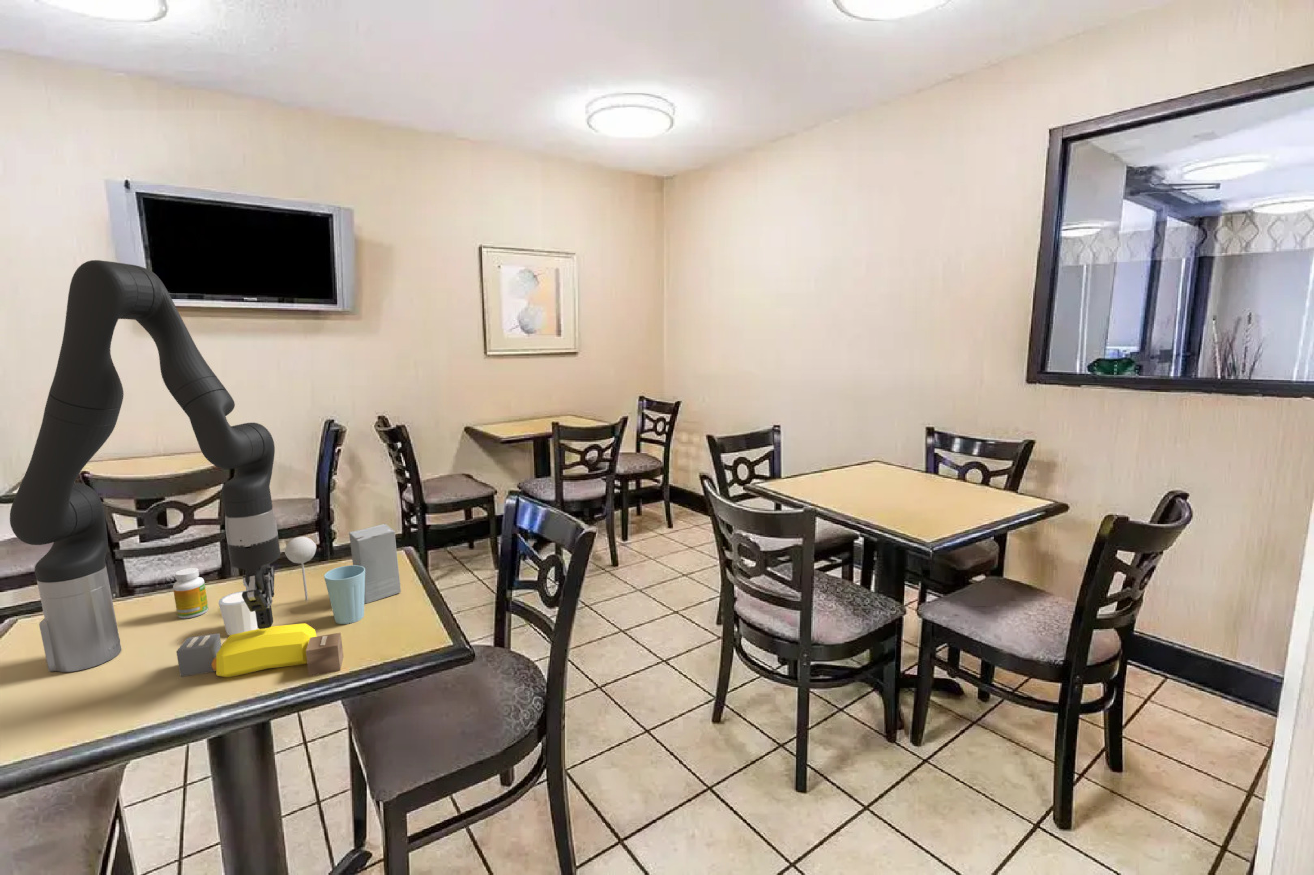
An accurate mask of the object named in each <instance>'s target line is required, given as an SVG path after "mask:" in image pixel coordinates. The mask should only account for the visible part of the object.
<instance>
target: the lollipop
mask: <svg viewBox="0 0 1314 875" xmlns="http://www.w3.org/2000/svg"><path fill="white" fill-rule="evenodd" d="M316 551H317V544H316V543H315V542H314V541H313V539H311V538H310V537H308V536H297V537H294V538H293V539H291V540H290V541H289V542H288V543H287V544H286V547H285V548H284V554H285V556H286V557H287V559H288V560H289V561H291V563H293V564H301V572H302V581H303V589H304V598H305V601H306V602H307V601H309V597H308V589H307V580H306V572H305V563H307V562H309V561H310V560H312V559H313V558H314V556H315V554H316Z"/></svg>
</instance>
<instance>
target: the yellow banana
mask: <svg viewBox="0 0 1314 875" xmlns="http://www.w3.org/2000/svg"><path fill="white" fill-rule="evenodd" d="M311 637H317V633H316V629H315V628H313V627H312V626H310V625H309V624H307V622H306V623H295V624H284V625H272V626H271V627H270V628H264V629H259V628H257V629H256V630H251V631H246V632H242V633H237V634H233V635H228V637H227V638H226V639H225V641H224V642H223V643H221V648H220V649H219V651H218V652H217V654H216V658H214V659H213V661H212V664H211V666H212V668H213V670H214V672H215V671H216V672H215V673H216V676H218V677H223V678H233V677H236V676H240V675H245V674H251V673H255V672H259V671H263V670H268V669H276V668H285V667H292V666H293V667H294V666H299V665H307V656H306V649H307V646H308V643H309V640H310V638H311Z"/></svg>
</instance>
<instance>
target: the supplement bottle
mask: <svg viewBox="0 0 1314 875" xmlns="http://www.w3.org/2000/svg"><path fill="white" fill-rule="evenodd" d="M174 576H175V580H176V581H175V583H174V584H173V586H172V589H173V590H172V591H173V596H174V602H175V608H176V609H175V610H176V614H177V617H178V618H179V619H192V618H195V617H199V616H201V615H204V614H206V613H207V612H208V611H209V604H208V598H207V597H208V596H207V590H206V585H205V580H204V578H203V577H200V570H199V568H197V567H189V568H188V567H187V568H183V569H180V570H178V571H176V572H175V573H174Z"/></svg>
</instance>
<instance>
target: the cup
mask: <svg viewBox="0 0 1314 875" xmlns="http://www.w3.org/2000/svg"><path fill="white" fill-rule="evenodd" d="M323 577H324V582H325V586H326V590H327V593H328V598H329V601H330V606H331V610H332V614H333V618H334V621H335V623H336V624H339V625H348V624H349V623H350V624H354V623H356V622H358V621H360V620H361V619H363V618H364V617H365V603H364V595H365V568H364V567H362V566H358V565H353V564H352V565H344V566H339V567H335V568H332V569H330V570H329V571H327V572H325V573H324V575H323Z"/></svg>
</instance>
